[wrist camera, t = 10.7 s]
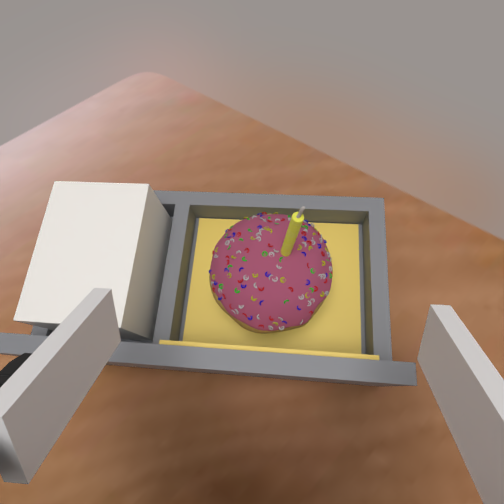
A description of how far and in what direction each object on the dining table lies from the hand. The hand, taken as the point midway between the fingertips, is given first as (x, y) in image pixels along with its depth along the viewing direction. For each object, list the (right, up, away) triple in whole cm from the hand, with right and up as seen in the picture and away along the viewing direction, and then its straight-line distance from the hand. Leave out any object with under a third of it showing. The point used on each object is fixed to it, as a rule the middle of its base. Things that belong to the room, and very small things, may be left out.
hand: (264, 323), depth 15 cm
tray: (-3, 0, +16) cm, 16 cm away
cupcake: (+1, 0, +14) cm, 14 cm away
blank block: (-11, +1, +16) cm, 19 cm away
